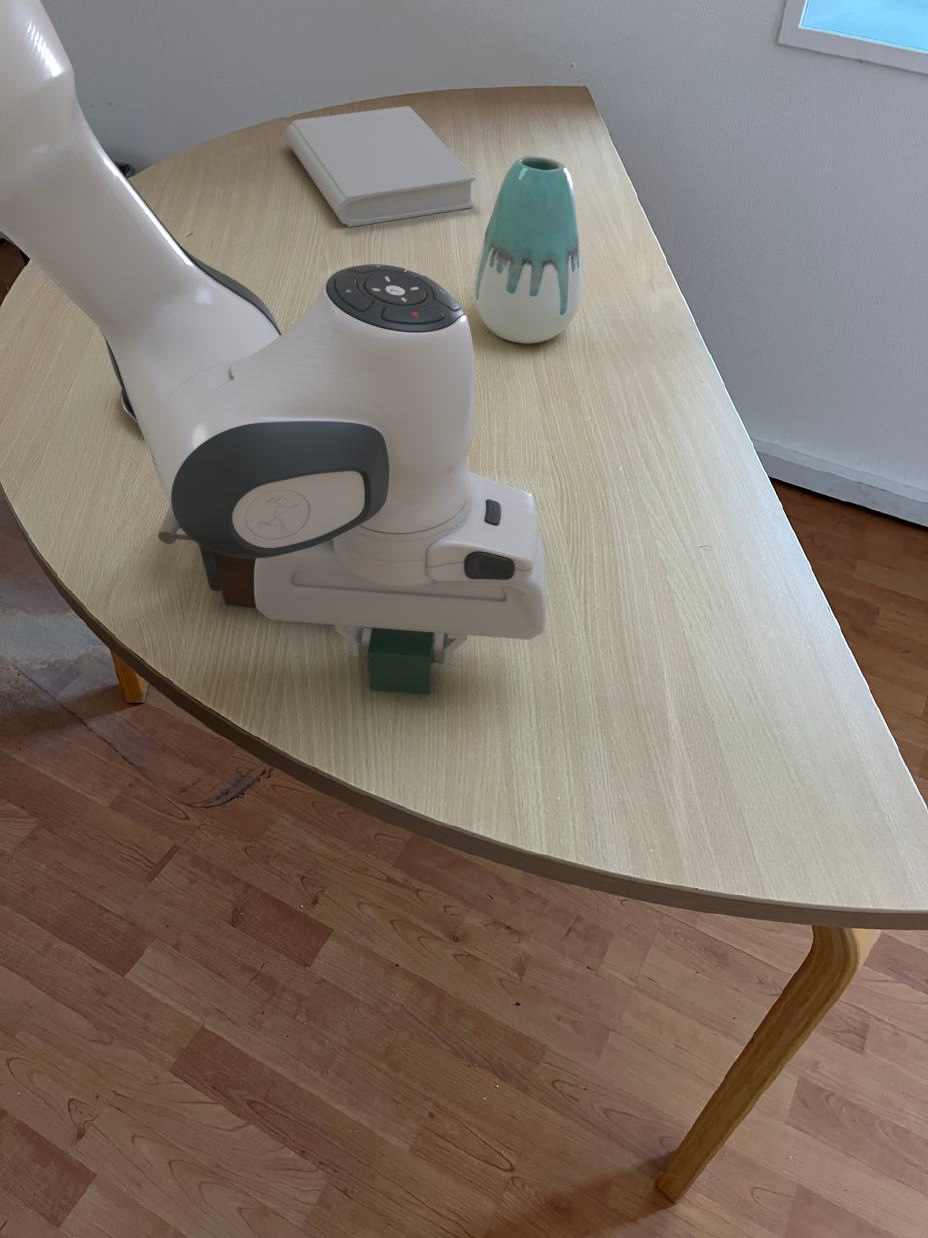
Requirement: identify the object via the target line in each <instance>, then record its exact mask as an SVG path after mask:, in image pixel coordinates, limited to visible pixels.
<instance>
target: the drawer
mask: <svg viewBox="0 0 928 1238" xmlns="http://www.w3.org/2000/svg"><path fill="white" fill-rule="evenodd" d="M157 538H158V540H160V542H162V543H164V544H166V545H167V544H168V545H172V544H175V543H176V541H177V540H181V541H182V540H184V541H193V540H192V539H191V538H190V537H189V536H188V535H187V534H186V533H185V532H184V531H183V530H182V528H181V527H180V526H179V524H178V522H177V520H176V518H175V516H174V513H173V510H172V507H171V505H170V504H169V507H168V510H167V513H166V514H165V517H164V519H163V522H162V524H161V525H160V529H159V531H158V534H157ZM198 547H199V552H200V554H201V555H200V556H201V558H202V564H203V567H204V571H205V575H206V579H207V583H208V586H209V590H210V591H214V592H215V591H216V592H217V591H218V592H222V589H221V585H220V581H219V577H218V573H217V569H216V565H215V561H214V556H213V552H212V550H209V549H207V548H205V547H203V546H201V545H199V544H198Z"/></svg>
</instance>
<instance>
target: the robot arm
mask: <svg viewBox="0 0 928 1238" xmlns="http://www.w3.org/2000/svg"><path fill="white" fill-rule="evenodd" d="M0 232H1V233H3V234H4V235H5V236H6V237H7V238H8V239H9V240H10V241H11V242H13V244H15V246H17V248H19V249H20V251H22V252H23V254H24V255H26V257H27V258H29V259H30V260H31V261H32V263H34V264H35V266H37V268H38V269H40V270H41V271H42V273H44V274H45V275H46V276H47V277H48V278H49V280H51V281H52V282H53V283H54V284H55V285H56V286H57V287H58V288H59V289H60V290H61V291H62V292H63V293H64V294H65V295H66V296H67V297H68V298H69V299H70V300H71V301H72V302H73V303H74V304H75V305H76V306H77V307H78V308H79V309H80V310H81V311H82V312H83V313H84V314H85V315H86V316H87V317H88V318H89V319H90V320H91V321H92V323H94V324H95V325H96V327H97V328H98V330H99V331H100V332H101V334H102V336H103V338H104V341H105V344H106V348H107V352H108V355H109V359H110V362H111V365H112V369H113V371H114V374H115V377H116V379H117V381H118V384H119V386H120V388H121V389H122V390H123V392H124V394H125V396H126V398H127V400H128V402H129V404H130V405H131V407H132V409H133V411H134V413H135V416H136V418H137V421H138V422H137V421H136V422H137V423H138V426H139V429H140V431H141V433H142V436H143V438H144V441H145V444H146V446H147V449H148V452H149V454H150V457H151V459H152V463H153V465H154V467H155V470H156V473H157V476H158V479H159V481H160V483H161V486H162V488H163V490H164V493H165V495H166V498H167V500H168V502H169V503H168V504H169V506H170V505H171V507H172V510H173V513H174V516H175V518H176V520H177V522H178V524H179V526H180V527H181V529H182V530H183V531H184V532H185V533H186V534H187V535H188V536H189V537H190V538H191V539H192V540H191V541H194V542H195V543H196V544H198V546H199V545H201V546H203V547H205V548H207V549H209V550H212V551H214V552H217V553H220V554H224V555H228V556H232V557H238V558H256V561H255V569H254V594H255V603H256V607H255V608H256V610H257V611H258V612H259V613H261V614H262V615H263V616H264V617H265V618H266V619H268V620H272V621H277V622H293V623H305V624H306V623H307V624H318V625H319V624H320V625H332V626H334V631H335V632H336V633H338V634H339V636H340V637H342V638H343V639H344V640H345V642H347V643H348V644H349V645H351V653H352V657H353V658H362V659H363V658H364V659H365V658H366V659H368V648H369V642H370V636H371V631H372V628H383V629H396V630H409V631H422V632H434V639H433V647H432V663H434V664H438V665H439V664H440V665H452V654H453V653H454V652H455V651H457V649H458V648H460V646H461V645H463V644H464V643H465V642H467V640H468V636H477V637H489V638H501V639H516V640H526V641H528V640H529V641H530V640H533V639H535V638H537V637H538V636H540V635H541V634H542V633H544V631H545V629H546V622H547V621H546V620H547V594H548V593H547V561H546V553H545V547H544V544H543V541H542V538H541V537H540V535H539V531H538V530H539V527H538V514H537V506H536V500H535V497H534V496H533V495H532V494H530V493H529V492H527V491H524V490H521V489H519V488H515V487H513V486H509V485H507V484H503V483H501V482H498V481H495V480H492V479H490V478H487V477H484V476H482V475H479V474H476V473H475V472H473V471H471V469H470V466H469V463H468V460H467V454H468V451H469V450H470V448H471V447H470V446H471V445H472V442H473V439H474V434H475V425H476V424H475V423H476V422H475V420H476V393H477V391H476V364H475V352H474V351H475V349H474V344H473V337H472V332H471V326H470V323H469V320H468V317H467V315H466V313H465V311H464V309H463V308H462V305H460V304H459V303H458V301H457V300H456V299H455V298H454V297H453V296H452V295H451V294H450V293H449V291H447V290H446V289H445V288H444V287H443V286H441V284H439V283H437V282H435V280H434V279H432V278H430V277H428V276H426V275H422V274H420V273H418V272H414V271H413V270H412V271H411V270H409V269H407V268H404V267H400V266H395V265H390V264H378V263H377V264H376V263H370V264H369V263H368V264H360V265H354V266H348V267H345V268H343V269H340V270H338V271H336V272H334V273H332V274H331V275H330V276H329V277H328V278H327V279H326V280H325V282H324V284H323V285H322V287H321V288H320V291H319V293H318V295H317V297H316V298H315V300H314V301H313V303H312V304H311V305H310V306H309V308H308V309H307V310H306V311H305V312H304V313H303V314H302V315H301V316H300V317H299V318H298V319H297V320H296V321H295V322H294V323H293V324H292V325H291V326H290V327H289V328H288V329H286V330H285V331H284V332H281V330H280V328H279V325H278V323H277V321H276V318H275V316H274V315H273V313H272V312H271V310H270V308H268V306H267V305H266V303H264V301H263V300H262V299H261V298H260V297H259V296H258V295H257V294H256V293H254V292H253V291H252V290H251V289H250V288H248V287H246V286H245V285H244V284H242V283H241V282H240V281H237V279H236V280H235V279H234V278H232V277H231V276H229V275H227V274H225V273H223V272H221V271H219V270H217V269H216V268H214V267H212V266H211V265H209V264H208V263H207V264H206V263H205V262H203V261H202V260H200V259H199V258H197V257H195V256H194V255H192V253H190V252H189V251H188V250H186V249H185V248H184V247H183V246H182V245H181V244H180V243H179V242H178V240H177V239H175V237H174V236H173V235H172V234H171V232H170V231H169V229H167V227H166V226H165V225H164V223H163V222H162V221H161V220H160V218H159V217H158V216H157V215H156V213H155V211H153V209H152V208H151V207H150V206H149V204H148V203H147V202H146V201H145V199H144V198H143V197H142V195H141V194H140V192H138V190H137V189H136V188H135V187H134V185H133V184H132V183H131V181H130V180H129V179H128V178H127V176H126V175H125V174H124V173H123V171H122V170H121V169H120V167H119V166H118V165H117V163H115V160H113V159H112V157H111V156H110V155H109V153H108V152H107V151H106V149H104V147H103V146H102V144H101V143H100V142H99V140H98V138H97V137H96V135H95V134H94V132H93V130H92V128H91V127H90V125H89V123H88V122H87V119H86V117H85V115H84V113H83V111H82V108H81V105H80V102H79V100H78V97H77V93H76V80H75V72H74V68H73V66H72V63H71V60H70V58H69V56H68V54H67V52H66V50H65V48H64V46H63V44H62V42H61V40H60V37H59V35H58V33H57V31H56V29H55V27H54V24H53V23H52V21H51V19H50V17H49V15H48V13H47V11H46V9H45V7H44V4H42V2H41V0H0Z"/></svg>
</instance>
